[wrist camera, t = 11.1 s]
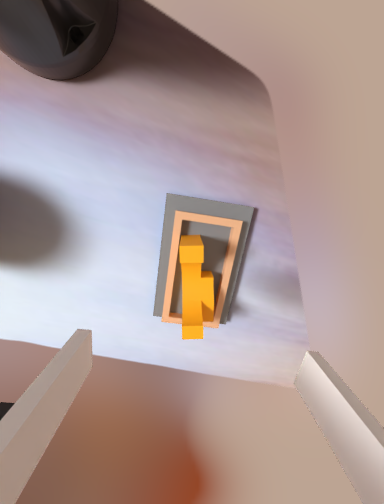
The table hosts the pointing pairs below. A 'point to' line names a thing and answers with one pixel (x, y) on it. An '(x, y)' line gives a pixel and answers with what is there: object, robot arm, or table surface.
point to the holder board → (215, 252)
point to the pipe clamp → (195, 288)
